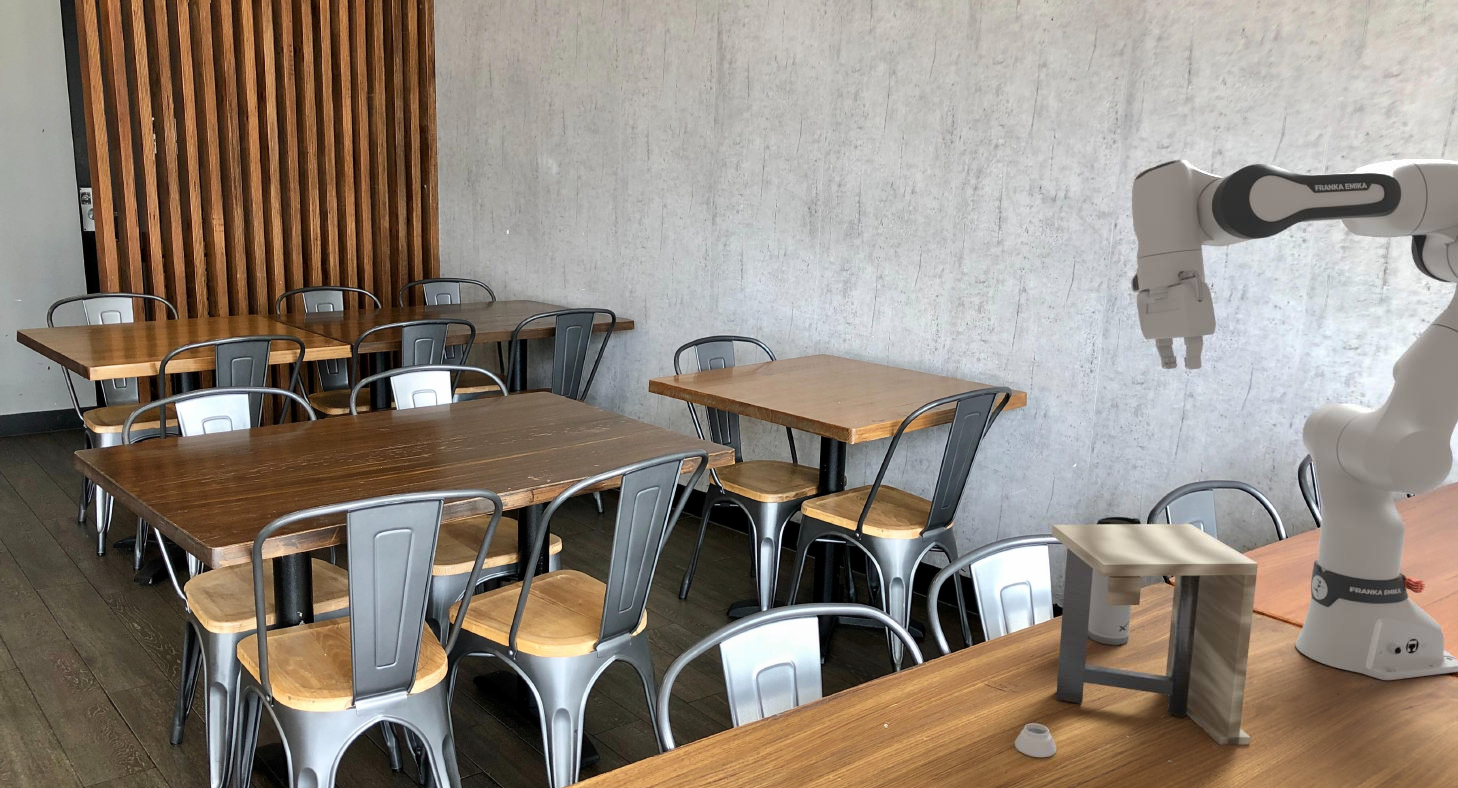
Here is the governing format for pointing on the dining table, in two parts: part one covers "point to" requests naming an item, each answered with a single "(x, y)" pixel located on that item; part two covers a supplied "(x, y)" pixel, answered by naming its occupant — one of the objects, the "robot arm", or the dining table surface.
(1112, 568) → the side table
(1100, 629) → the travel mug
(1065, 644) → the frame
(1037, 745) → the white jar
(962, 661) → the dining table surface
